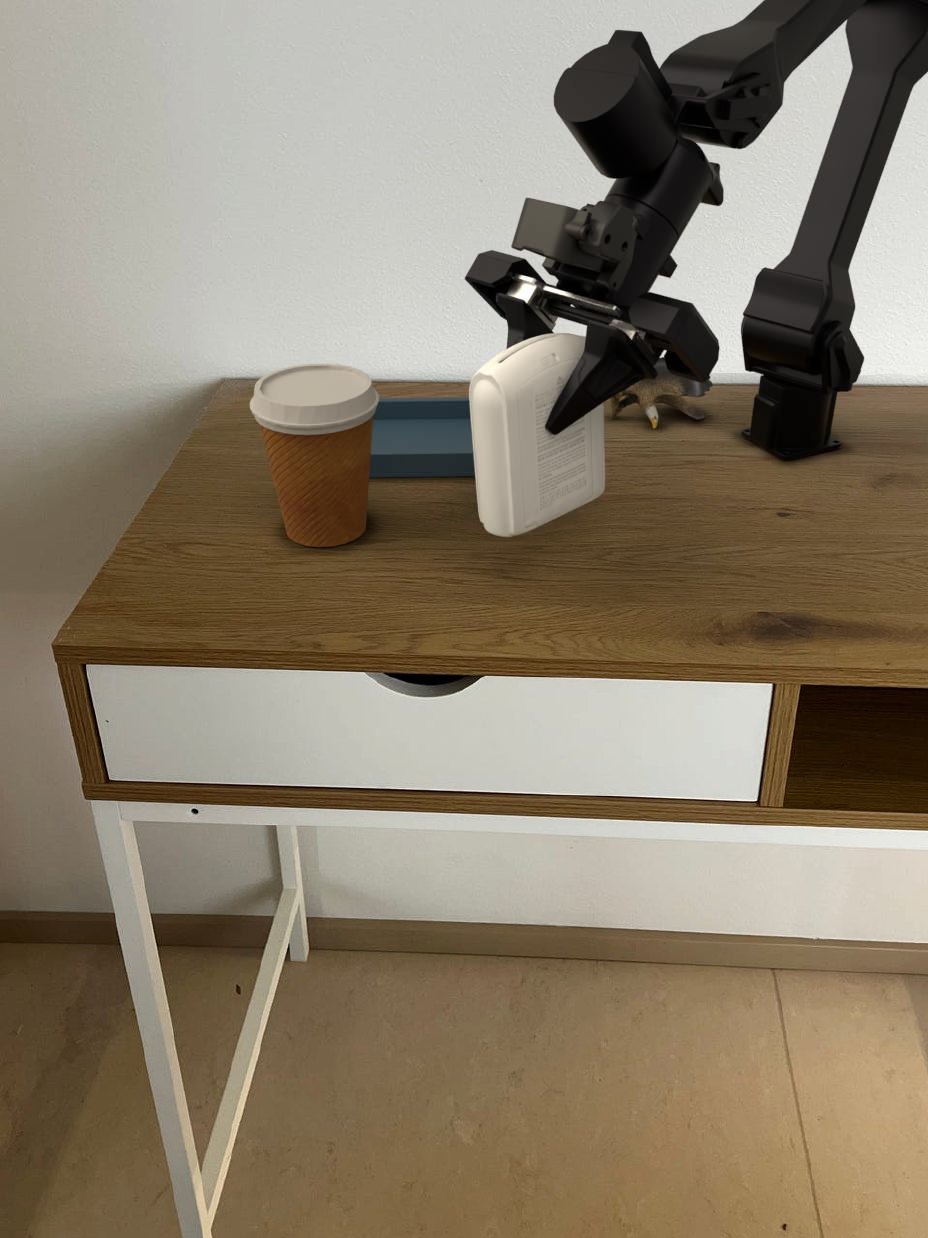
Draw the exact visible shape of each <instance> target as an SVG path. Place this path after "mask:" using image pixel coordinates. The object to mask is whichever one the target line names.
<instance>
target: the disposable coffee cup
mask: <svg viewBox="0 0 928 1238" xmlns="http://www.w3.org/2000/svg"><path fill="white" fill-rule="evenodd" d="M379 399H380V395H379V393H378V391H377V390H376V389H375V388H374V385H373V382H372V378H371V376H370V375H369V374H368V373H366V372H365V371H363V370H361V369H359V368H356V367H353V366H349V365H345V364H344V365H343V364H338V363H305V364H297V365H292V366H287V367H284V368H280V369H276V370H274V371H271V372H269V373H266V374H265V375H263V376H262V377H260V379H258V380H257V381H256V383H255V384H254V389H253V396H252V397H251V398H250V401H249V409H250V411H251V413H252V415H253V416H254V419H255V420H256V422H257V423H258V425H259V429H260V432H261V436H262V440H263V445H264V448H265V453H266V456H267V460H268V461H267V462H268V464H269V466H268V467H269V468H270V473H271V475H272V476H271V477H272V480H273V483H274V488H275V491H276V496H277V500H278V505H279V507H280V512H281V516H282V519H283V523H284V528H285V533H286V536H287V537H288V538H289V539H290V540H292V541H293V542H295V543H297V544H300V545H302V546H306V547H313V548H315V547H316V548H328V547H336V546H341V545H345V544H347V543H351V542H353V541H355V540H357V539H358V538H360V537H361V536H362V535H363V534H364V533H365V531H366V529H367V516H368V515H367V514H368V498H369V487H370V486H369V485H370V478H369V471H370V457H371V442H372V428H373V415H374V414H375V411H376V407H377V405H378V403H379Z"/></svg>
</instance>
